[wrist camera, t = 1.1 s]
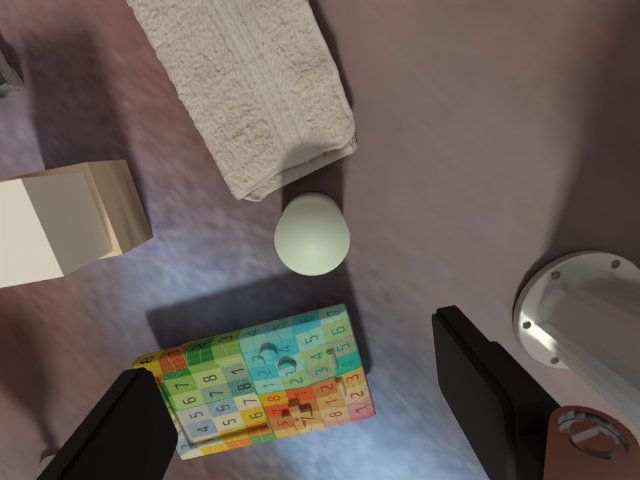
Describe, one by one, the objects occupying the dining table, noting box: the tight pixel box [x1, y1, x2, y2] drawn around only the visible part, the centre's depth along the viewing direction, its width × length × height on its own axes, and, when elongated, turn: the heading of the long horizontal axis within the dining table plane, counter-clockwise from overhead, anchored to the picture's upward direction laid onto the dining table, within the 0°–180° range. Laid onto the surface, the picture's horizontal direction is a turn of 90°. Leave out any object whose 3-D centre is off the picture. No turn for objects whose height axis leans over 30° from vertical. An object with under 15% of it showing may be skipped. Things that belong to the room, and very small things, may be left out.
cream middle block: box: [0, 172, 113, 288], centre depth 21 cm, size 6×6×5 cm
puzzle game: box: [133, 303, 376, 460], centre depth 31 cm, size 12×5×20 cm
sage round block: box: [274, 192, 350, 275], centre depth 26 cm, size 6×6×6 cm
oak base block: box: [0, 160, 153, 259], centre depth 26 cm, size 7×7×5 cm
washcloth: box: [127, 0, 357, 201], centre depth 24 cm, size 12×18×3 cm, turn 27°
